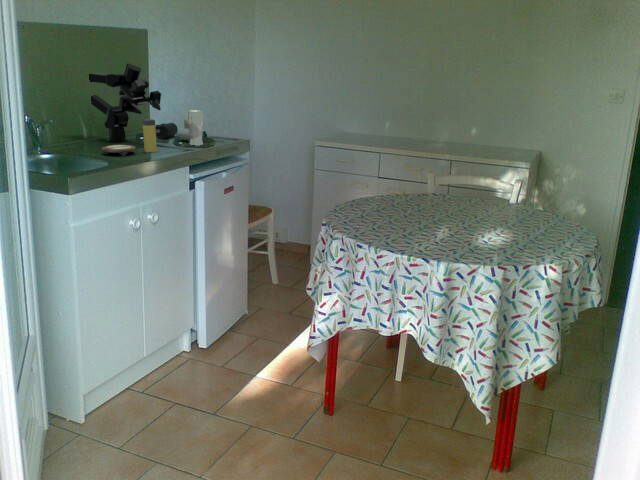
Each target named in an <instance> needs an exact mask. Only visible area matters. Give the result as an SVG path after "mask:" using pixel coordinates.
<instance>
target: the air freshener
mask: <svg viewBox="0 0 640 480" xmlns="http://www.w3.org/2000/svg"><path fill="white" fill-rule="evenodd" d="M183 123H184V124H183V125H184V126H183V128H182V129H180V130H179V132H178V133H179V134H178V136H179V137H180V139H181V140H183V139H189V140H190V134H189V129H188V123H187V118H184V119H183ZM203 136H204V132H203V131H202V138H203Z"/></svg>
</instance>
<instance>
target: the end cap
mask: <svg viewBox="0 0 640 480" xmlns="http://www.w3.org/2000/svg"><path fill="white" fill-rule="evenodd" d="M155 129H156V138H158V139H157V140H166V139H169V138H172V137H174V136H175V135H176V134H177V133H178V125H177V124H175V123H174V122H169V123H160V124H155ZM157 131H158V132H157Z"/></svg>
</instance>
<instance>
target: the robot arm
mask: <svg viewBox="0 0 640 480" xmlns="http://www.w3.org/2000/svg"><path fill="white" fill-rule="evenodd" d="M141 72H142V68H141V67H140V66H137V65H134V64H132V63H126V65H125V70H124V73H111V74H104V73H97V72H92V73H90V74H89V80H90V82H93V83H97V84H98V83H99V84H105V85H106V86H108V87H110V88H119V91H118V92H119V93H118V94H119V95H118V96H120V97H119V104H118V105H116V106H112V105H110V104H109V103H108V102H107V101H106V100H105V99H102V98H101V96H99V95H98V94H96V95H93V96H91V102H92V103H91V106H93V107H94V108H95V109H97V110H98V111H99V112H101V113H103V114H104V115H105V117H106V120H105V122H104V127H105V129H108V135H109V139H107V140H106V141H107V142H110V143H111V142H114V143H122V142H126V141H128V139H126V131H125V128H127V127H128V125H129V118H130V117H129V114H128V113H132V114H133V113H135V114H139V115H141V114H142V111H141V109H140V108H139V107H138V106H141V105H145V104H147V103H149V104H150V106H151V107H152V108H153V109H156V110H157V111H161V109H162V108H161V105H160V104H161V100H162V99H161V97H162V92H160V91H159V90H154V91H151V92H149V96H145V95H146V94H147V93H146V91H145V90H146V89H148V88H149V86H150V83H149V81H148V80H147V79H140V76H141V74H142V73H141Z"/></svg>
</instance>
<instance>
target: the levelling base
mask: <svg viewBox="0 0 640 480" xmlns="http://www.w3.org/2000/svg"><path fill="white" fill-rule="evenodd" d="M101 151H102V153H103V154H104V155H109V154H110V153H118V154H119V155H120V156H121V155H122V156H121V157H125V155H126V156H127V155H128V153H131V152H135V151H136V146H135V145H131V144H112V145H105V146H102V147H101Z"/></svg>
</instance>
